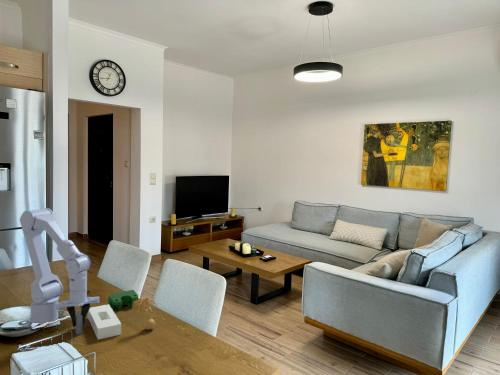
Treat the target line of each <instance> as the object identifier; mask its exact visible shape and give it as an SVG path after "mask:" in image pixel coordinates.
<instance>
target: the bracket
mask: <svg viewBox="0 0 500 375" xmlns="http://www.w3.org/2000/svg"><path fill="white" fill-rule="evenodd" d="M82 316H83V315H82V313H81V308H80V309H75V327H73V330H74V332H75V335H76V336H80V335H83V325H82Z"/></svg>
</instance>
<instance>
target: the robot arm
mask: <svg viewBox="0 0 500 375" xmlns="http://www.w3.org/2000/svg"><path fill="white" fill-rule="evenodd" d="M19 222H20V226H21V230H22V233H23V236H24V239H25V243H26V246H27V251H28V254H29V257H30V262H31V266H32V270H33V273H34V276H35V279H34V280H33V282H31V284H30V289H31V290H30V291H31V292H30V297H31V300H32V302H31V303H30V306H29V307H30V310H29V311H30V316H29V323H30V322H31V323H46V322H50V321H54V320H56V319H57V318H58V317H59V310H64V309H66V312H67V313H68V314H69V317H70V318H71V324H72V325H71V326H72V327H73V328H74V327H75V310H76V309H75V308H76V307H80V311H81V313H82V315H83V316H82V326H84V325H85V321H86V317H87V316H88V311H89V309H90V308H91V306H90V305H91V304H100V301H101V300H100V296H88V295H87V294H88V293H87V292H88V270H89V269H90V267H91V266H92V265H91V264H92V262H91V259H90V258H89V255H86V254H84V253H83V252H81V251H80V250H79V249H78V248H77V246H76V245H75V243H74V242H73V241H72V240H71V239H67V238H66V237H65V235H64V233H63V232H62V230H61V228H60V227H59V226H58V223H57V222H56V214H54V212H53V210H52V209H50V208H49V207H45V208H40V209H33V210H32V209H31V210H24V211H23V212H22V213H21V216H20V217H19ZM43 232H45V233H46V234H47V235H48V236H49V237H50V239H51V240H52V241H53V242H54V243H55V244H56V245H57V246H56V251H57V252H58V254H59V255H60V257H61V258H62V260H64V262H65V263H66V265H65V270H66V272H67V277H68V279H69V299H68V300H64V301H62V302H59V299H60V296H62V294H63V292H64V285H63V284H62V282H61V280H60V279H59V276H58V275H56V274H54V273H52V271H51V270H52V269H51V267H50V262H49V259H48V256H47V251H46V248H45V244H44V240H43V237H42V234H43ZM31 323H30V324H31ZM59 325H61V322H60V320H59V321H58V322H56V323H52V324H49V325H47V326H46V327H44V328H43V329H45V328H51V327H55V326H59Z"/></svg>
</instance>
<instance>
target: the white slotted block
mask: <svg viewBox="0 0 500 375" xmlns="http://www.w3.org/2000/svg"><path fill="white" fill-rule="evenodd" d="M87 319H88V321H89V324H90V325H91V327H92V328H91V329H92V330H93V332H94V333H95V336H96V339H97V340H98V341H99V340H102V339H107V338H112V337H115V336H116V337H117V336H120V335H122V323H121V321H120V319H119V318H118V316H117V314H116V313H115V311H114V310H113V308H111V307H110V305H109V304H108V303H107V304H103V305H99V306H92V307H91V306H90V309H89V311H88V313H87Z"/></svg>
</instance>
